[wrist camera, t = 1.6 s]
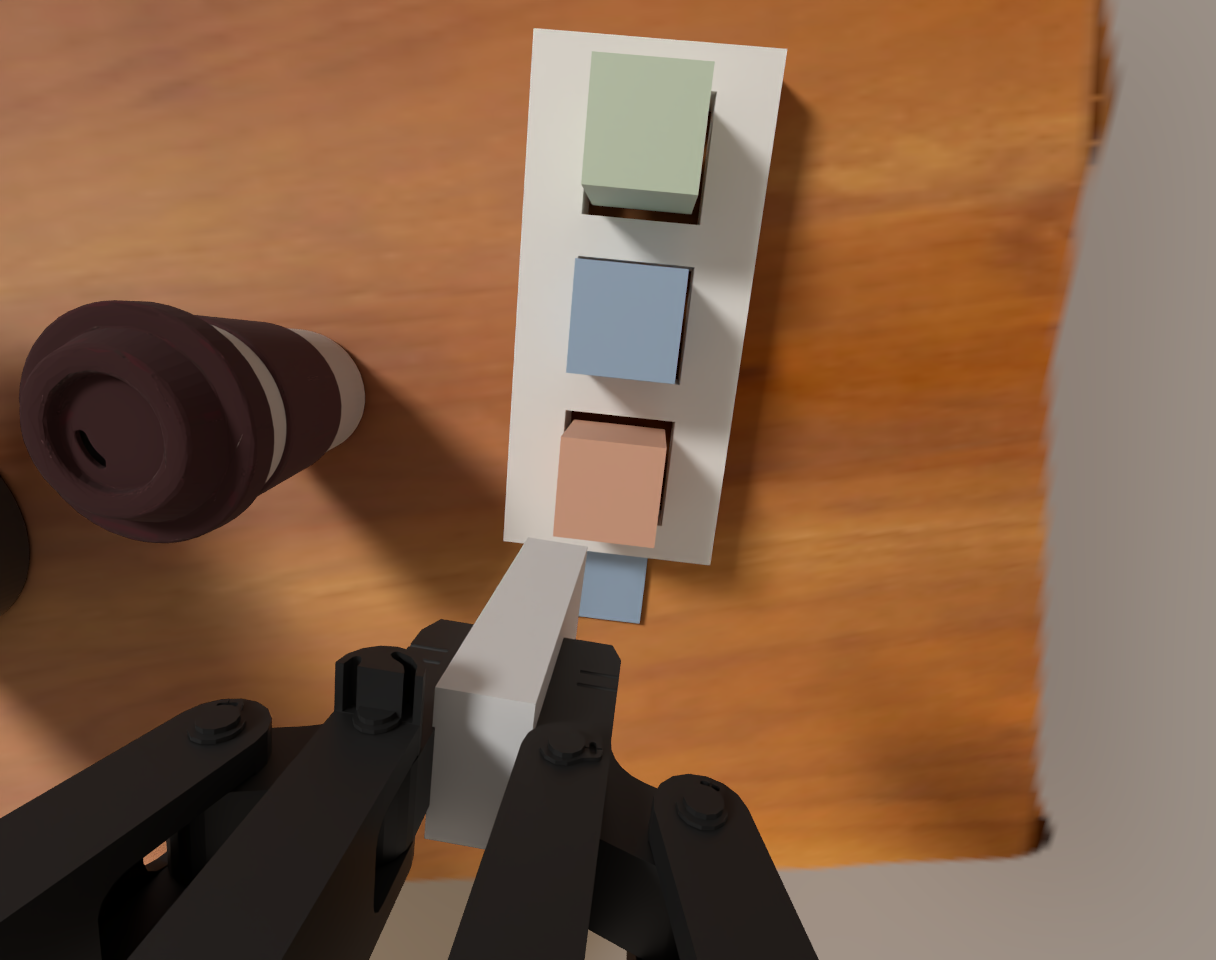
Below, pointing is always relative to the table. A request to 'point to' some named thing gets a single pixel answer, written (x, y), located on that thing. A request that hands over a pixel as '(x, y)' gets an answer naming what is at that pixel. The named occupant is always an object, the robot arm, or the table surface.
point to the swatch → (613, 587)
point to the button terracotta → (609, 483)
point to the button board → (707, 249)
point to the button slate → (626, 320)
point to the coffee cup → (179, 413)
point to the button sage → (645, 131)
